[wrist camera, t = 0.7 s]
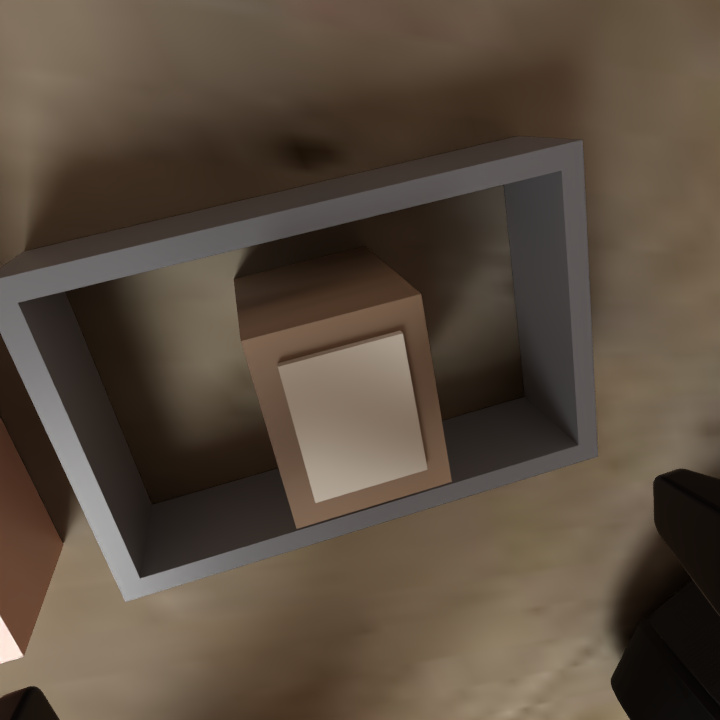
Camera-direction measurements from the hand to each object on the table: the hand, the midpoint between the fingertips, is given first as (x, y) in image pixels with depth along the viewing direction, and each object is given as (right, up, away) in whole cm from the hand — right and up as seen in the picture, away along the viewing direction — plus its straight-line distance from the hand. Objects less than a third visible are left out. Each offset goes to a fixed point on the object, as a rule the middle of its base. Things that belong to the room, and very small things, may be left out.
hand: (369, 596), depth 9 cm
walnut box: (-1, +4, +10) cm, 11 cm away
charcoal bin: (-1, +4, +10) cm, 11 cm away
